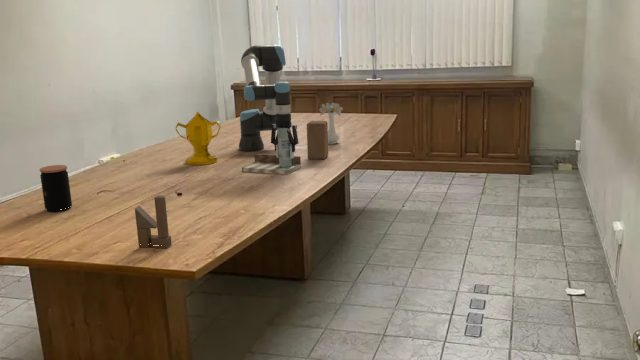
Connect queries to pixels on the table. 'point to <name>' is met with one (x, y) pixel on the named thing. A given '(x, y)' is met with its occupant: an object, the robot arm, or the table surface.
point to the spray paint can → (284, 147)
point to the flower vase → (331, 120)
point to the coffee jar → (55, 188)
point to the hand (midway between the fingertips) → (285, 157)
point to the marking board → (271, 165)
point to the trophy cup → (199, 139)
